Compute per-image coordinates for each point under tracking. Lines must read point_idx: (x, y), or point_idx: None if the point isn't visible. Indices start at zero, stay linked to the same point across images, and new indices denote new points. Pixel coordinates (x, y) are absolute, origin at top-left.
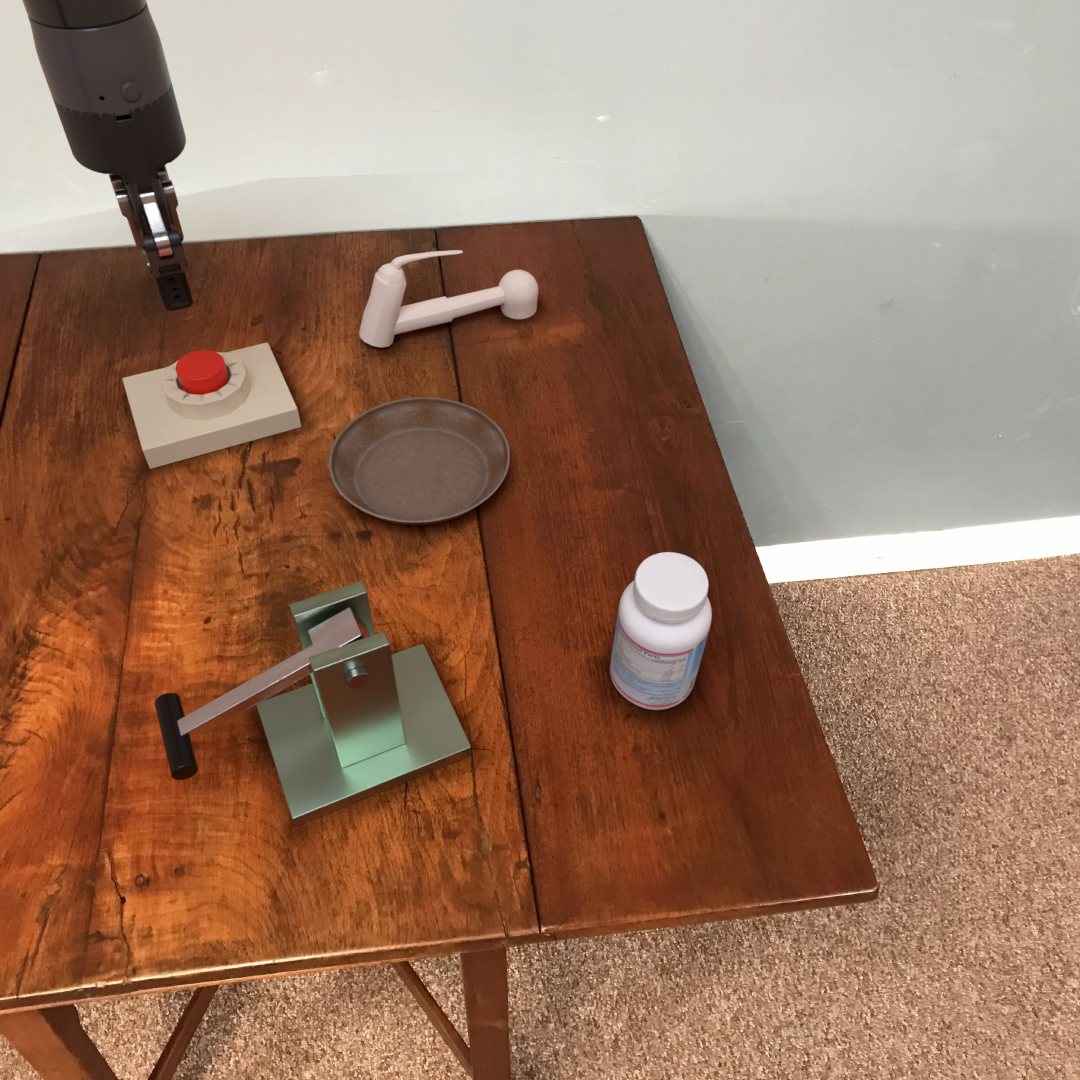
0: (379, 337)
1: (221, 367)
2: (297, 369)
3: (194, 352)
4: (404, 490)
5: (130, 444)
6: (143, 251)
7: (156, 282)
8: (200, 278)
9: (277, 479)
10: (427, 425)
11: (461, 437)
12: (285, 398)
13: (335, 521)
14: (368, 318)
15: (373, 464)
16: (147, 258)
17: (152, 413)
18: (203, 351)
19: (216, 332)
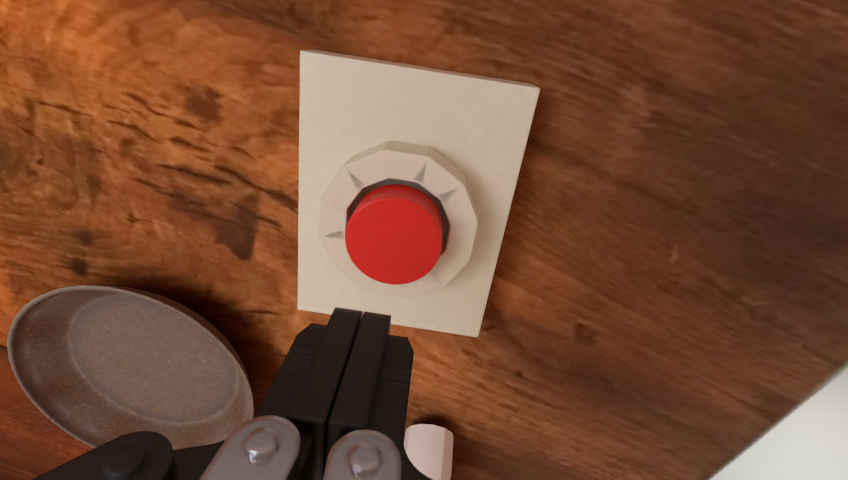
0: (405, 444)
1: (362, 272)
2: (436, 332)
3: (435, 248)
4: (130, 338)
5: (399, 38)
6: (357, 469)
7: (375, 358)
8: (766, 309)
9: (216, 218)
10: (234, 404)
11: (203, 420)
12: (327, 305)
13: (112, 248)
14: (419, 464)
15: (189, 330)
16: (331, 450)
17: (397, 105)
18: (428, 263)
19: (602, 275)
